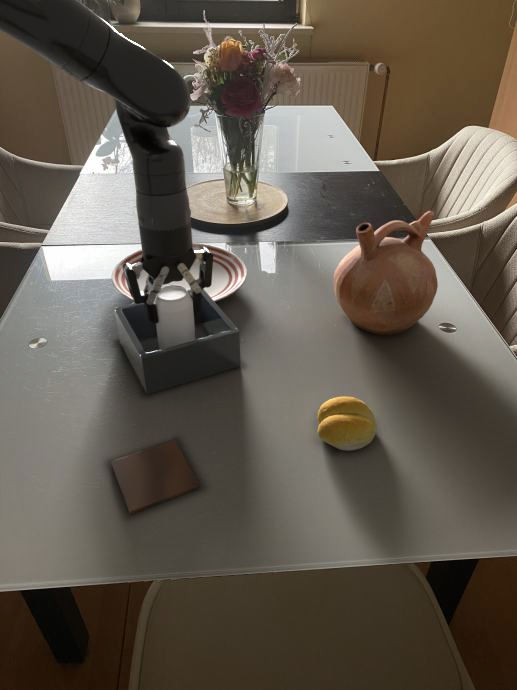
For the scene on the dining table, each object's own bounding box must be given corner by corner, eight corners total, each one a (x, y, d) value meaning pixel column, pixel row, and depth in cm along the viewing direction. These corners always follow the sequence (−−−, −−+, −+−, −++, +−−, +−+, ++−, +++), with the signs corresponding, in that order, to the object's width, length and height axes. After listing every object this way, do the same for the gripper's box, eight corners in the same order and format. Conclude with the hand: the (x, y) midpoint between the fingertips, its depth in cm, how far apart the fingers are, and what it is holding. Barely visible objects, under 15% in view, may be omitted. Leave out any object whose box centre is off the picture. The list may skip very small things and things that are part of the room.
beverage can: (201, 346, 93) (197, 285, 86) (188, 367, 88) (182, 304, 81) (168, 340, 95) (162, 280, 88) (153, 361, 90) (145, 299, 83)
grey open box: (147, 394, 83) (141, 358, 79) (119, 341, 94) (113, 307, 90) (240, 366, 89) (240, 331, 85) (204, 319, 100) (202, 287, 96)
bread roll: (317, 452, 73) (319, 430, 71) (316, 408, 80) (318, 387, 78) (378, 455, 73) (382, 434, 70) (372, 410, 80) (375, 390, 78)
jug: (396, 287, 111) (412, 192, 99) (450, 333, 97) (476, 229, 85) (315, 302, 106) (322, 204, 94) (359, 353, 92) (375, 245, 80)
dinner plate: (269, 270, 116) (269, 257, 114) (202, 333, 96) (201, 317, 95) (165, 246, 127) (164, 232, 125) (85, 298, 107) (81, 283, 105)
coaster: (129, 514, 65) (129, 512, 64) (111, 464, 71) (110, 461, 71) (199, 487, 68) (199, 485, 68) (175, 442, 75) (175, 439, 74)
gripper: (201, 201, 83) (206, 295, 93) (108, 217, 78) (124, 315, 87) (220, 218, 77) (224, 316, 87) (122, 236, 72) (138, 339, 82)
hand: (174, 315), depth 87 cm, fingers closed on beverage can, 6 cm apart
